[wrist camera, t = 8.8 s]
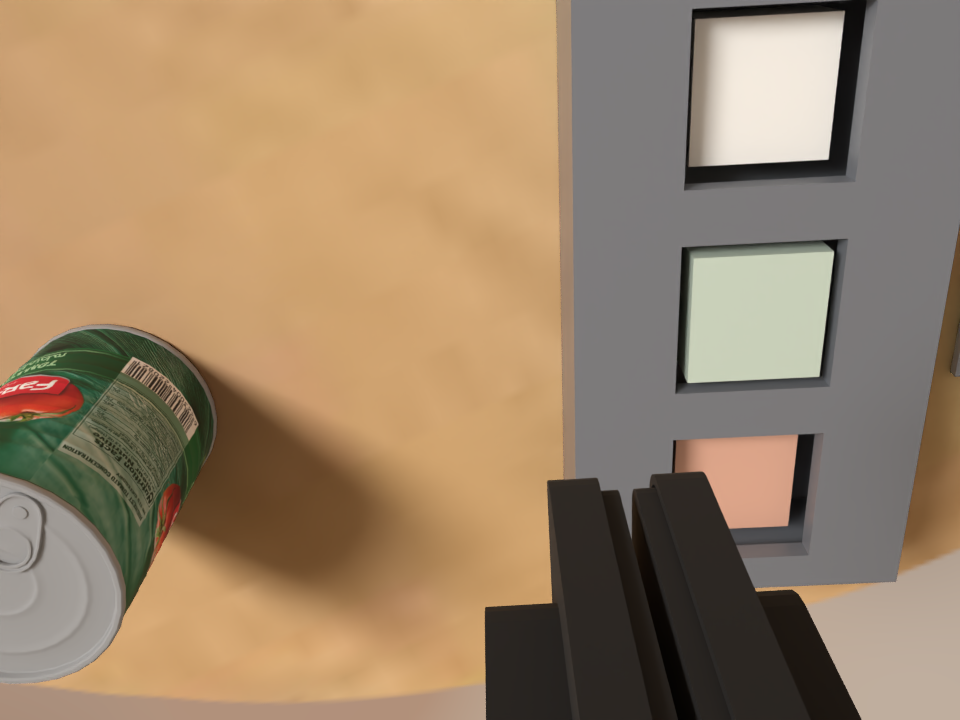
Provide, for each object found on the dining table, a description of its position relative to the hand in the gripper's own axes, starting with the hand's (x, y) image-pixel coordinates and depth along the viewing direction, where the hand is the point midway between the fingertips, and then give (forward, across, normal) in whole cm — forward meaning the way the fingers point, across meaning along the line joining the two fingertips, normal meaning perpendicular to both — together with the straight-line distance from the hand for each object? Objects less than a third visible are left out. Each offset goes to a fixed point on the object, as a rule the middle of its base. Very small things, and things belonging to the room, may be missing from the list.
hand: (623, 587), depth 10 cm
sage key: (+22, -7, +5) cm, 23 cm away
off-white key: (+23, -7, -2) cm, 24 cm away
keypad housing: (+24, -7, +5) cm, 26 cm away
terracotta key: (+23, -7, +12) cm, 27 cm away
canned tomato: (+25, +17, +10) cm, 32 cm away
